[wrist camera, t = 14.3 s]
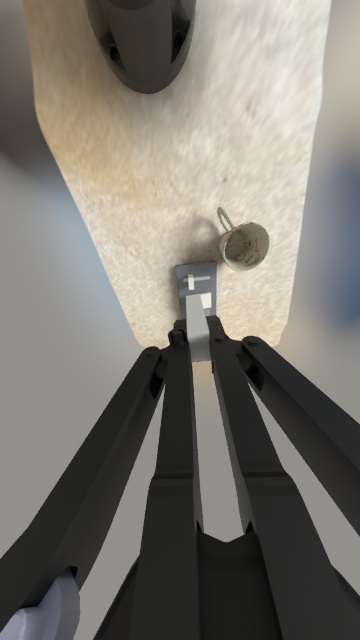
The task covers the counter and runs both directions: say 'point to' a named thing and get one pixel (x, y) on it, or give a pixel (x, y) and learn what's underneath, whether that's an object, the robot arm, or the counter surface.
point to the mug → (243, 243)
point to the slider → (191, 281)
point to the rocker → (205, 299)
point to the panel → (197, 284)
